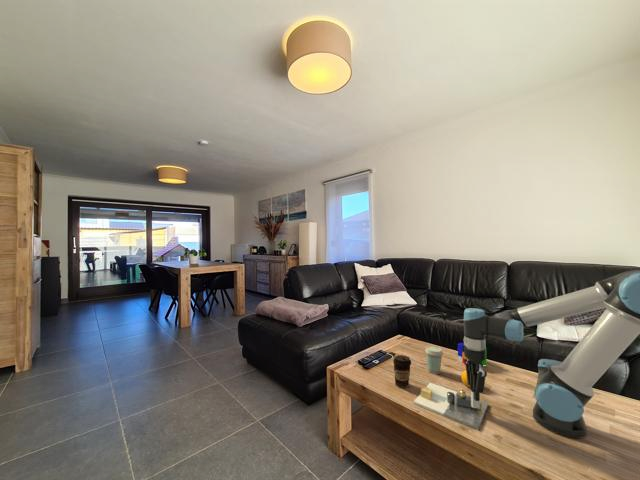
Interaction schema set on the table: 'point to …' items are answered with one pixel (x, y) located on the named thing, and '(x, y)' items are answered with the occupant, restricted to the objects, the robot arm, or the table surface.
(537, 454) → the table surface
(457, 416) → the plate
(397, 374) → the coffee cup
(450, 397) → the pivot post
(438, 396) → the door board
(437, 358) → the coffee cup
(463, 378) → the orange
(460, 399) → the swing bar
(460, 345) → the puzzle toy
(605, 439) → the table surface
